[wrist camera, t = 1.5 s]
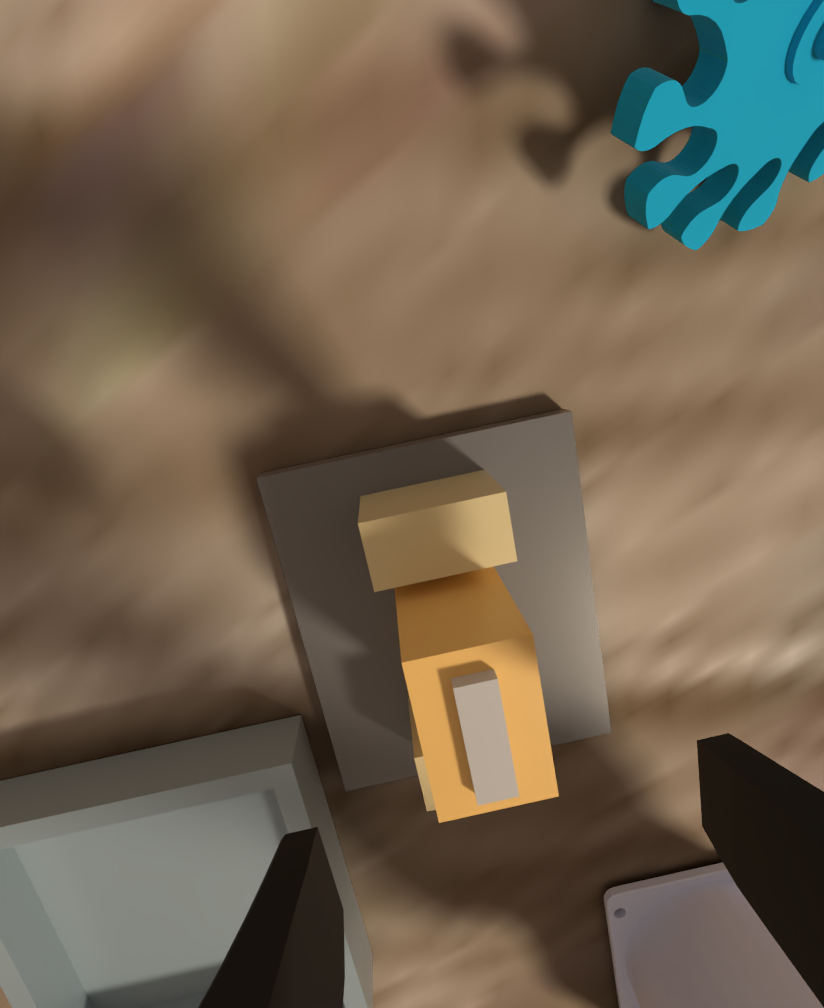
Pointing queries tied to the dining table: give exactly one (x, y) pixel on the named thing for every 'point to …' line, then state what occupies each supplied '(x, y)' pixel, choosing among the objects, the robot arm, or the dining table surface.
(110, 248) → the dining table surface
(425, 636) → the block
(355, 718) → the panel
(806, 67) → the gear
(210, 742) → the parts tray
